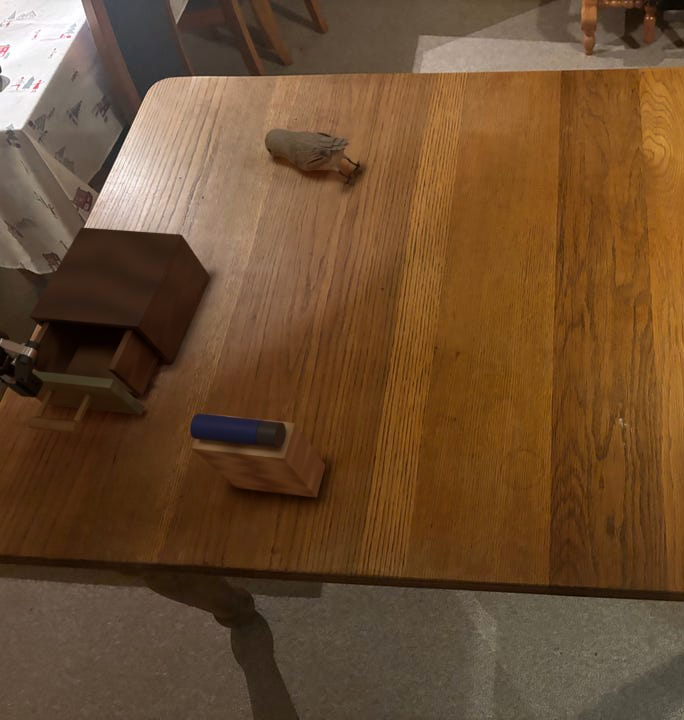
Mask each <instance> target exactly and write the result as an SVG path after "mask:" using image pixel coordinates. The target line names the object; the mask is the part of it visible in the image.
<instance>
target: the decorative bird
mask: <svg viewBox="0 0 684 720" xmlns="http://www.w3.org/2000/svg"><path fill="white" fill-rule="evenodd" d="M349 140H350V138H345V137H339V136H333V135H331V134H329V133H326V132H320V131H319V132H318V131H317V132H316V131H315V132H312V131H306V130H305V131H303V130H302V131H292V130H289V129H284V128H273V129H271V130H269V131H268V132H267V133H266V134H265V138H264V146H265V149H266V150H267V152H268V153H269V155H270V156H271V157H272V158H278V157H283V158H286V159H287V160H288V161H289V162H290V163H292V164H294V165H295V166H296V167H297V168H299V169H300V170H302V171H305V172H310V171H315V170H318V171H335V172H337V173H339V174H340V175H341V176H343V177H344V178H346V179H347V180H346V181H345V184H344V185H345V187H347V184H348V185H350V183H349V182H350V181H351V180H352V179H353V177H352V175H351V174H352V172H349V174H348V175H346V174H344V173H343V172H342V171H341V170H340V168H338V167H339V166H340V165H341V164H342V161H343V159H344V160H347V161H348V163H350V164H351V165H354V166H355V168H354V171H353V176H355V174H356V173H358V170H359V169H360V168H361V164H360V160H358V161H357V163H355V162H354V161H352V160H351V159H350V158H349V157H348V156H347V154H345V150H346V148H347V146H349V145H350V142H349Z"/></svg>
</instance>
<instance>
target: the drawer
mask: <svg viewBox="0 0 684 720" xmlns="http://www.w3.org/2000/svg"><path fill="white" fill-rule="evenodd" d="M33 341H35V342H37V343H39V344H40V345H41V347H40V353H39V359H38V363H37V365H36V366H35V367H34V369H33V371H32V373H33V374H35V375H36V376H37V377H39V378H40V379H41V380H42V381H43V386H42V387H41V389H40V391H39V393H38V395H37V396H36V397H34V398H35V399H36V400H38V401H39V402H40V406H39V407H38V410H37V411H36V413H35V416H34V415H33V416H30V417H29V418H28V420H27V422H26V425H27V427H28V428H30V429H34V430H43V431H52V432H53V431H54V432H61V433H70V434H79V433H81V431H82V430H83V423H82V421H83V419H84V416H85V414H86V412H87V411H88V410H92V411H99V412H110V413H118V414H126V415H127V414H128V415H136V416H141V415H142V414H143V411H144V409H145V405H143V404H142V403H141V402H140V401H139V400H138V399H136V397H134V396H141V397H143V395H144V394H145V392H146V389H147V387H148V384H149V383H150V380H151V377H152V376H153V373H154V371H155V368H156V367H157V364H158V360H159V358H160V355H159V354H158V353H157V352H156V351H155V350H154V349H153V348H152V347H151V346H150V345H149V343H148V342H147V341H146V340H145V339H144V338H143V337H142V336H141V335H140V334H139V333H138V332H137V331H136V329H127V328H116V327H105V326H94V325H83V324H72V323H61V322H50V321H45V322H44V324H43V326H42V327H41V326H40V329H39V330H38V333H37V334H36V336H35V338H34V339H33ZM49 406H55V407H56V406H57V407H64V408H72V409H77V412H76V413H75V415H74V418H73V420H69V419H60V418H52V417H44V416H45V415H46V412H47V410H48V408H49Z"/></svg>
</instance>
